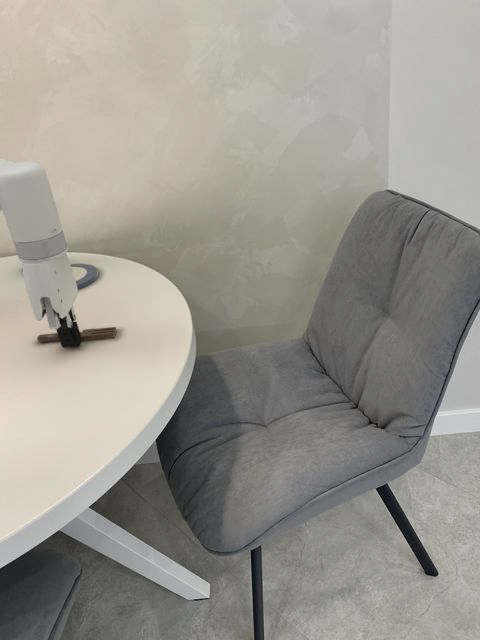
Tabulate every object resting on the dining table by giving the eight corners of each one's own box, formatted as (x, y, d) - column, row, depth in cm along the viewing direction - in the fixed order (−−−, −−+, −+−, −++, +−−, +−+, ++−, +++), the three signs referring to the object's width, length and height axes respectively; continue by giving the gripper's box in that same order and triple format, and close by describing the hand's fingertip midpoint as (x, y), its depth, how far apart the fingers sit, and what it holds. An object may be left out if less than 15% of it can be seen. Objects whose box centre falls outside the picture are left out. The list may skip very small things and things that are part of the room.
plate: (24, 297, 115) (23, 292, 115) (44, 270, 127) (42, 266, 127) (90, 291, 115) (89, 286, 115) (103, 264, 127) (102, 260, 127)
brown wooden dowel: (36, 345, 97) (34, 339, 96) (40, 338, 99) (38, 331, 99) (114, 338, 97) (112, 331, 96) (117, 331, 99) (115, 324, 99)
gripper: (32, 231, 92) (62, 325, 102) (0, 266, 80) (38, 370, 89) (76, 227, 92) (102, 321, 102) (51, 261, 79) (83, 366, 89)
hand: (72, 344), depth 96 cm, fingers closed
